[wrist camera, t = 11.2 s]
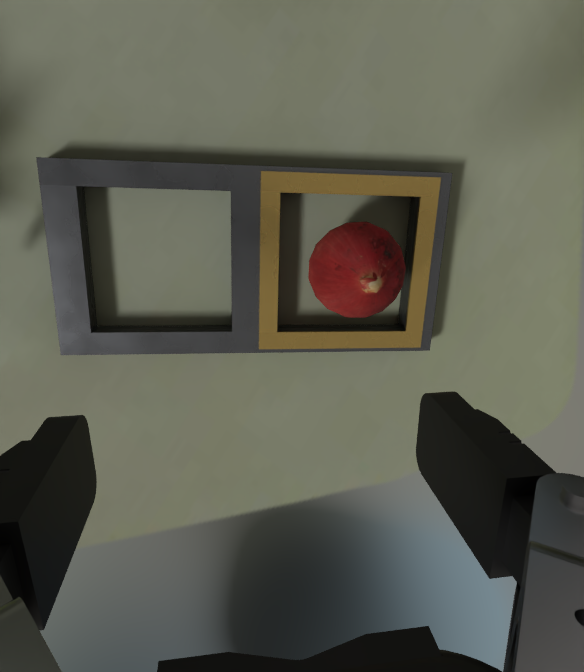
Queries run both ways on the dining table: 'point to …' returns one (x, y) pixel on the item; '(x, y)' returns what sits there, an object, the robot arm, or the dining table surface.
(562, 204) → the dining table surface
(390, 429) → the dining table surface
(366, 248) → the onion
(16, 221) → the dining table surface
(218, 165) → the grey yellow flat frame
